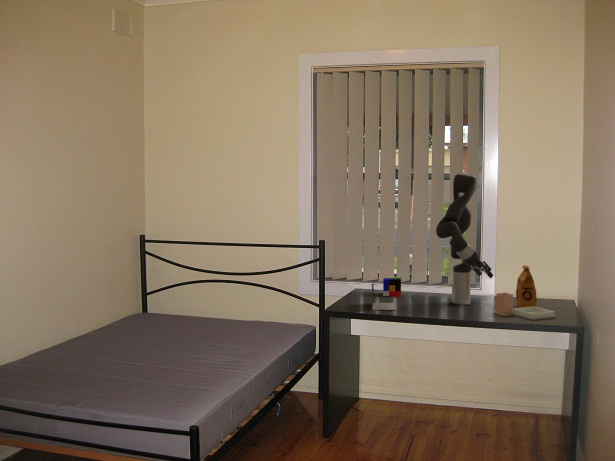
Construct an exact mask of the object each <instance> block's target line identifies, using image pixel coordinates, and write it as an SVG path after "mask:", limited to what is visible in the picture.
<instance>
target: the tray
mask: <svg viewBox="0 0 615 461" xmlns="http://www.w3.org/2000/svg"><path fill="white" fill-rule="evenodd" d="M512 313H513V315H512V316H516V317H519V318H522V319H526V320H529V321H536V320H538V321H539V320H546V319H554V318H555V316H556V314H555V313H556V312H555V310H549V309H546V308H542V307H538V306H536V307H535V306H532V307H522V308H519V307H516V308H514V307H513V309H512Z"/></svg>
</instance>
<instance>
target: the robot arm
mask: <svg viewBox="0 0 615 461" xmlns="http://www.w3.org/2000/svg"><path fill="white" fill-rule="evenodd" d="M452 186H453V187H452V192H453V193H452V194H453V201H452V202H451V203H450V204H449V205H448V208H447V210H446V212H445V215H444V216H443V217H442V218H441V219H440V220H439V222H438V223H437V225H436V227H435V233H436V236H437V237H438V238H439V239H447V238H450V237H451V239H450V240H449V246H450V256H451V259H454V260H461V261H463V262H461V263H459V264H456V265H454V266H453V267H452V268H453V269H452V272H453V273H452V285H451V302H452V303H453V304H455V305H470V304H471V289H472V288H471V281H472V280H471V279H472V277H471V273H472V271H473V272H475V273H476V275H477V276H478V277H481V276H482V274H483V273H484V274H486V275H487V277H488V278H489V279H492V278H493V277H494V274H493V273H492V268H491V266H489V264H488V263H487V262H486V261H485V260H483V261H481V260H480V255H479V253H478V252H477V251H476V250H475V249H474V247H473V246H472V243H471V242H469V241H467V240H466V239H465V238H464V236H463V235H464V233H466V231H468V229H469V228H470V226H471V222H472V212H471V210H470V207H469V206H468V205H467V204H468V203H469V202H470V200H471V198H472V197H473V195H474V193H475V192H476V189H477V186H478V179H477V177H476V176H475V175H471V174H463V173H457V174H455V175H454V178H453V184H452Z"/></svg>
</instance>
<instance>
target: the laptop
mask: <svg viewBox="0 0 615 461" xmlns="http://www.w3.org/2000/svg"><path fill="white" fill-rule="evenodd" d="M374 283H375V282H374V280H372V284H371V311H378V310H395V311H397V303H395V302H374V301H375V300H374V296H375V294H374V293H375V292H374V290H375V289H374ZM379 303H380V304H379ZM377 304H378V305H377Z"/></svg>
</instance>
